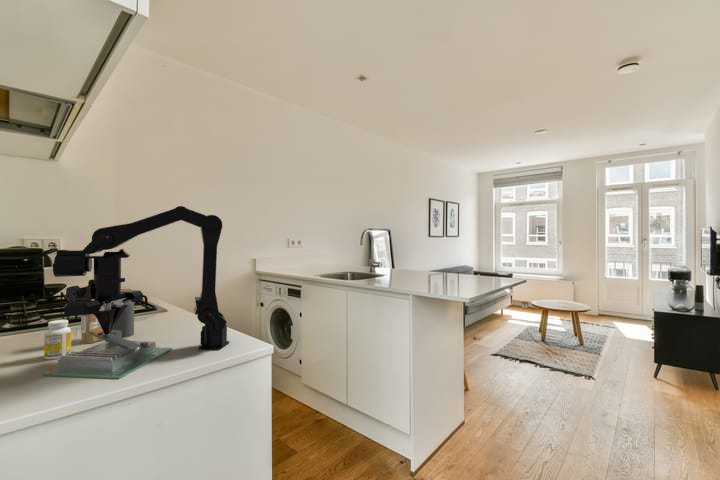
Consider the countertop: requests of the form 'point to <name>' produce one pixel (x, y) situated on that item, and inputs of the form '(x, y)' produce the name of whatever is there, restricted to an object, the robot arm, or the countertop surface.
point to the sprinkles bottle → (88, 328)
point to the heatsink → (106, 360)
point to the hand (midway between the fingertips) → (107, 333)
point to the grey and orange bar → (115, 339)
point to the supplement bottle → (57, 339)
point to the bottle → (126, 319)
